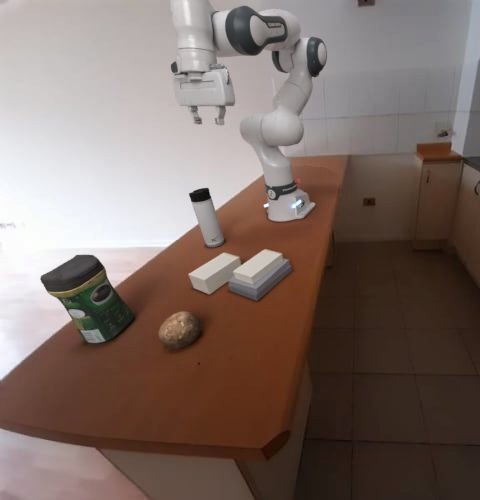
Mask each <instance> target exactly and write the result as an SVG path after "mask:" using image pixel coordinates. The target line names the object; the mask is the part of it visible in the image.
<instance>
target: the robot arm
mask: <svg viewBox="0 0 480 500" xmlns="http://www.w3.org/2000/svg"><path fill="white" fill-rule="evenodd" d="M169 7H170V16H171V20H172V21H171V22H172V26H173V27H172V28H173V30H174V32H175V33H174V34H175V35H176V39H177V48H176V49H177V52H178V54H177V56H176V58H175V59H174V60H173V61H172V62H171V63H170V64H169V65H168V68H169V73H170V74H171V75H173V76H172V85H173V91H174V95H175V100H176V102H177V104H178V105H179V106H180V107H187V110H188V112H189V114H190V116H191V118H192V123H193V124H194V125H203V120H202V117H200V114H199V112H198V111H199V107H215V111H216V117H214V121H215V123H214V124H215V125H216V126H225V116H226V112H227V109H226V107H234V106H235V104H236V96H235V90H234V86H233V81H232V78H231V77H230V70H229V69H228V67H227V66H226V65H225V64H223V63H218V59H217V58H231V57H233V58H234V57H243V56H245V57H246V56H247V57H251V56H252V57H256V56H258V55H260V54H261V53H262V52H263V50H265V51H269V52H271V61H272V64H273V66H274V67H275V69H276V70H277V72H280V73H284V74H288V73H289V74H288V75H289V76H288V78H287V79H286V80H285V81H284V82H283V83H282V85H281V87H280V88H279V89H278V91H277V92H276V94H275V95H274V96H273V98H272V108H273V111H271V112H264V113H262V112H261V113H260V112H259V113H253V114H248V115H247V116H244V117H243V118H242V119H241V120H240V122H239V134H240V136H241V138H242V139H243V140H244V142H245V143H247V144H248V145H249V146H250V147H251V148H252V149H253V151H254V153H255V154H256V156H257V158H258V160H259V161H260V166H261V168H262V172H263V176H264V181H265V183H264V189H265V193H266V200H267V203H266V204H263V207H264V208H267V210H266V213H267V218H268V219H269V220H270V221H272V222H281V223H283V222H289V221H290V222H291V221H294V220H302V219H304V218H305V217H306V216H307V215H308V214H309V213H310V212H311V211H312V210H313V209H315V207H316V203H315V202H313V201H310V197H309V194H308V193H307V191H306V190H302V189H300V188H299V186H298V185H300V184H301V179H300V178H295V179H294V174H293V173H294V172H293V167H292V162H291V160H290V158H288V156H286V155H285V154H284V153H283V152H282V151H281V149H280V147H290V146H294V145H298V144H299V143H301V141H302V140H303V138H304V135H305V134H304V133H305V127H304V123H303V121H302V120H301V118H300V116H301V114H302V112H303V111H304V109H305V107H306V106H307V104H308V103H309V100H310V99H311V95H312V92H313V88H314V86H313V85H314V83H313V78H318V77H319V76H320V73H321V72H322V71H323V70H324V67H325V66H326V64H327V60H328V50H327V47H326V44H325V42H324V40H323V39H322V38H320V37H317V36H310V37H304V36H303V37H301V33H302V31H301V24H300V21H299V20H298V17H297V16H296V15H295V14H293V12H290V11H287V10H284V9H282V8H281V9H280V8H266V9H263V10H261V11H258V12H257V11H256V10H255V9H254V8H252V7H250V6H248V5H241V6H238V7H234V8H232V9H231V8H230V9H225V10H221V11H220V10H219V9H218V8H216V7H215V6H214V5H213V4H212V2H211V1H210V0H169Z"/></svg>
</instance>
